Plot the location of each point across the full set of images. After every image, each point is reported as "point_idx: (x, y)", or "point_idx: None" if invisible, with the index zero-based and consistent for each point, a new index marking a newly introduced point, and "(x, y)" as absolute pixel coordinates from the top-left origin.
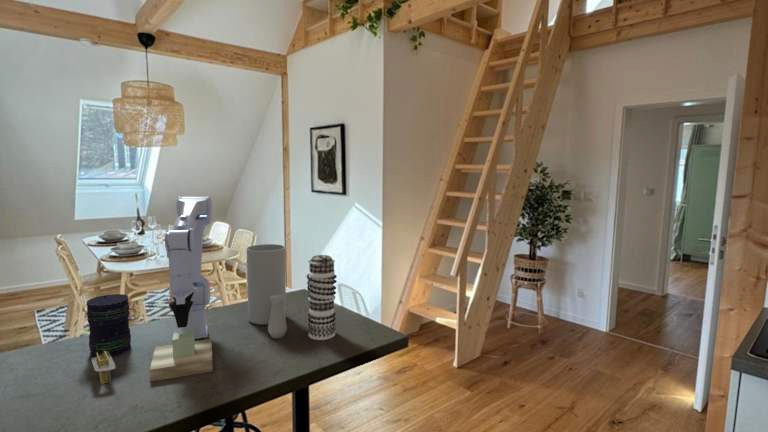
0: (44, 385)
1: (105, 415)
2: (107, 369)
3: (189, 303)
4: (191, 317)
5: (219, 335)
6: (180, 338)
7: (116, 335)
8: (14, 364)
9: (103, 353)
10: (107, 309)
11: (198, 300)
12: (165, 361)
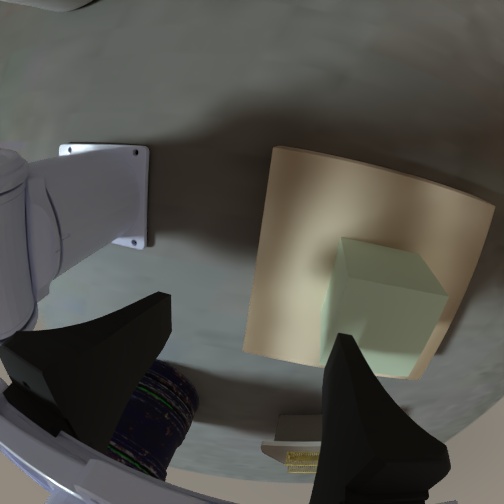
0: (280, 464)
1: (470, 408)
2: None
3: (441, 476)
4: (85, 230)
5: (147, 100)
6: (418, 350)
7: (170, 428)
8: (173, 464)
9: (264, 451)
10: None
11: (12, 221)
12: None
